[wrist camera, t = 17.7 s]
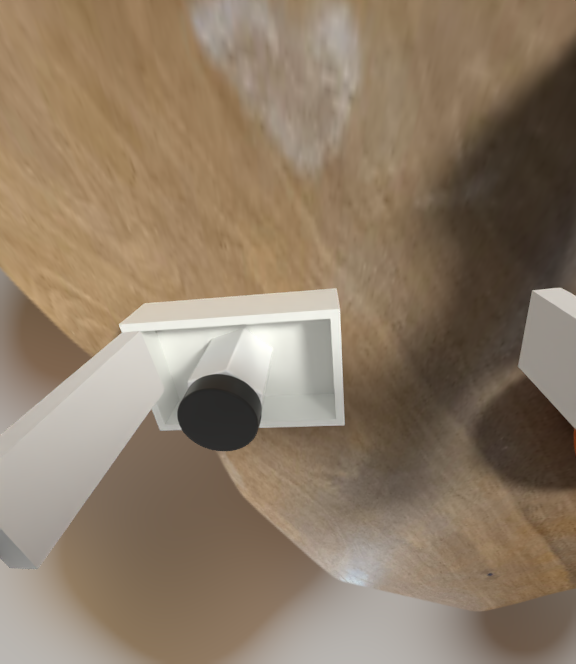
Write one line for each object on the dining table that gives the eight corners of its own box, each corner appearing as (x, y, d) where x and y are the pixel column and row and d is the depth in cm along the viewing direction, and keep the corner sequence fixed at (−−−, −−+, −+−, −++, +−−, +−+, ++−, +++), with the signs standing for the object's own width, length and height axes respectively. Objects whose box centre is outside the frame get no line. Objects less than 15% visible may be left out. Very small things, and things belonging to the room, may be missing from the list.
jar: (225, 390, 45) (197, 460, 35) (197, 341, 42) (157, 402, 31) (285, 372, 43) (275, 442, 32) (260, 320, 40) (240, 378, 29)
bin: (336, 288, 38) (339, 308, 33) (341, 394, 45) (344, 425, 40) (144, 303, 41) (118, 324, 36) (177, 401, 48) (160, 430, 43)
